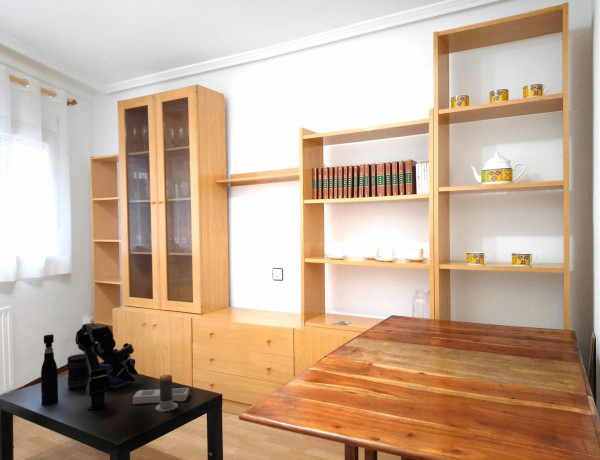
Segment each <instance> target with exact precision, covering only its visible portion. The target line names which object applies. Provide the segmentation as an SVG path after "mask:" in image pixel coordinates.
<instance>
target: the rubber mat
mask: <svg viewBox="0 0 600 460" xmlns="http://www.w3.org/2000/svg"><path fill="white" fill-rule="evenodd" d="M178 407H179V404H178V403H176V402H173V407H171V408H167V409H161V408H160V403H158V404H157V405H156V406H155V411H156V412H160V413H166V412H165V411H168V412H171V411H170V410H172V411H174V409H175V410H177V408H178Z"/></svg>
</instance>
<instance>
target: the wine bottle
mask: <svg viewBox="0 0 600 460" xmlns="http://www.w3.org/2000/svg"><path fill="white" fill-rule="evenodd" d="M54 337H55V336H54V334H44V335H43V344H45V346H44V347H45V349H44V353H43V358H44V359H43V361H42V362H43V363H42V365H41V370H40V380H41V381H40V386H41V387H40V388H41V389H40V391H41V394H40V395H41V406H43V405H45V406H44V407H48V406H47V405H49V406H53V404H54V405H56V404H58V403H59V378H58V377H59V375H58V374H59V373H58V366H57V362H56V359H55V352H54V348H53V343H54V342H55V341H54Z"/></svg>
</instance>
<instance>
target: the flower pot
mask: <svg viewBox="0 0 600 460" xmlns="http://www.w3.org/2000/svg"><path fill="white" fill-rule="evenodd" d="M129 358H130V357H129ZM129 358H128V359H129ZM103 362H104V361H101V362H99V364H100V367H101V369H105V370H106V371H107V374H108V377H110V380H111V387H110V389H116V390H117V389H119V388H122V387H124V386H126V385H129V384H131V383H133V382H132V381H127V380H123V379H116V378H114V379H113V378H112V377H111V376H110V372H111V370H112V369H111V366H109V365H108V364H107V363H103ZM131 363H132V365H133V366H134V368H135V367H136V359H135V358H131ZM135 369H136V368H135ZM130 374H131V373H130ZM131 375H132V376H133V375H134V374H131Z"/></svg>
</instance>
